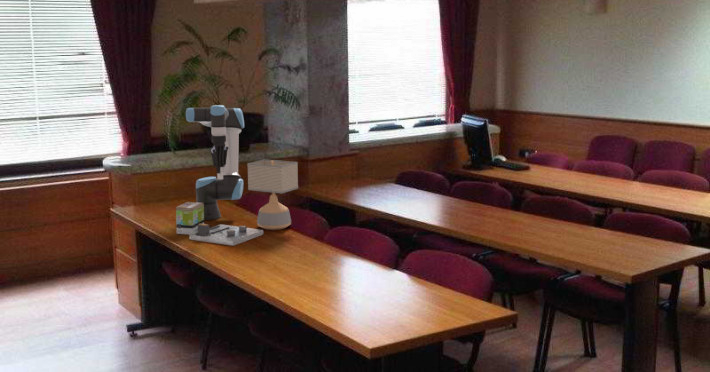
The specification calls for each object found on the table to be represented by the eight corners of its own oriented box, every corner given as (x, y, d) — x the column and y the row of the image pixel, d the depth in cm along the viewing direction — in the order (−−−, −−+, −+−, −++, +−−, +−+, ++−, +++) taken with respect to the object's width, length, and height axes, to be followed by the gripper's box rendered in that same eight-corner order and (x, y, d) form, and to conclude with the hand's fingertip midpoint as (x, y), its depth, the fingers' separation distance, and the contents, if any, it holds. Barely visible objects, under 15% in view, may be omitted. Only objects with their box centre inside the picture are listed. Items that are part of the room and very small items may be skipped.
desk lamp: (300, 225, 436) (299, 160, 429) (281, 233, 419) (279, 165, 413) (267, 221, 446) (265, 157, 439) (247, 228, 429) (245, 162, 423)
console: (220, 228, 431) (219, 219, 430) (263, 234, 417) (263, 225, 416) (188, 239, 408) (188, 229, 407) (233, 245, 395) (232, 236, 394)
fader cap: (201, 232, 411) (201, 223, 410) (209, 234, 408) (208, 224, 407) (197, 234, 408) (197, 224, 407) (205, 235, 406) (205, 225, 405)
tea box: (194, 235, 417) (192, 207, 414) (176, 234, 419) (174, 206, 416) (204, 228, 431) (203, 201, 429) (187, 227, 433) (186, 201, 431)
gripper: (220, 133, 423) (222, 176, 427) (205, 135, 411) (206, 180, 416) (232, 133, 419) (233, 177, 423) (216, 136, 408) (218, 181, 412)
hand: (220, 179), depth 420 cm, fingers closed
